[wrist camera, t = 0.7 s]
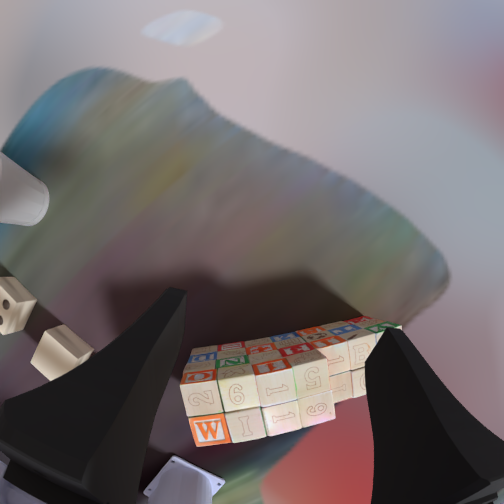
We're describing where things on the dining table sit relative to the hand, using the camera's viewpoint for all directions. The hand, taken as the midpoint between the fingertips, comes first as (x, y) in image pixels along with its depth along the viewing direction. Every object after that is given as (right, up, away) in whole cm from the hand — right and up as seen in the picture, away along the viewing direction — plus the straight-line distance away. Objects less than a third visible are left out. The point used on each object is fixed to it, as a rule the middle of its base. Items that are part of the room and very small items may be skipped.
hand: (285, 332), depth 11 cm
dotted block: (-32, -4, +22) cm, 39 cm away
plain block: (-24, -10, +23) cm, 34 cm away
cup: (-30, +9, +23) cm, 39 cm away
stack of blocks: (+3, -10, +26) cm, 28 cm away
